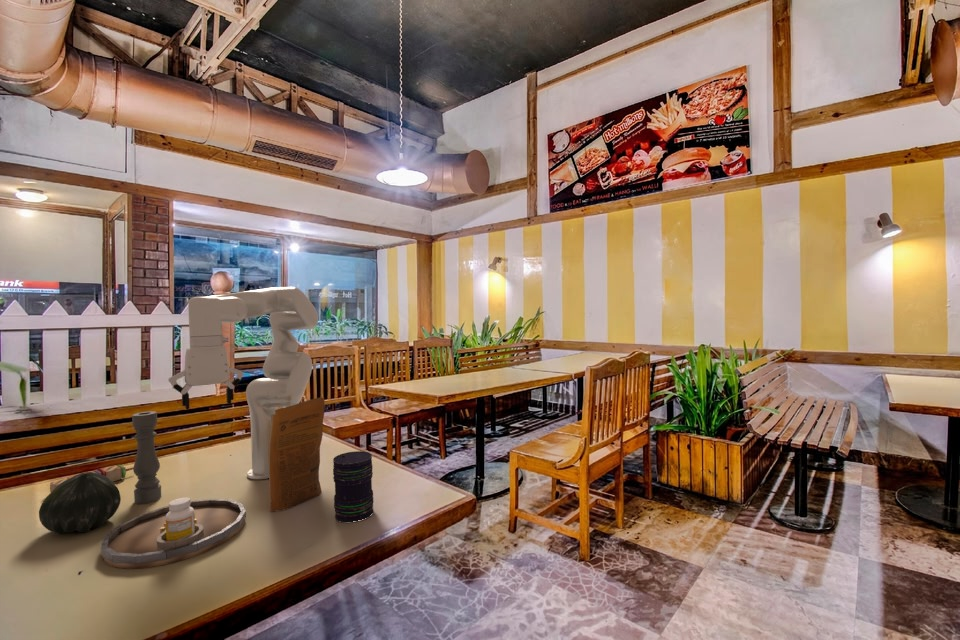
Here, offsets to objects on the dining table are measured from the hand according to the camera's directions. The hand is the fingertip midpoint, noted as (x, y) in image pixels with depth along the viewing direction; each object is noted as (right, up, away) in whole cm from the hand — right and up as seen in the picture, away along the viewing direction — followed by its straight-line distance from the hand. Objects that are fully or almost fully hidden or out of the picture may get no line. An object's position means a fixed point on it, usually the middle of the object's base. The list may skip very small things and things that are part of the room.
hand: (208, 405), depth 119 cm
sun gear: (+1, -27, -13) cm, 30 cm away
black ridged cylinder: (+41, -28, -4) cm, 49 cm away
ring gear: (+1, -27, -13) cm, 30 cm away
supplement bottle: (+6, -28, -20) cm, 34 cm away
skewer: (-48, -30, +20) cm, 60 cm away
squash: (-27, -29, -8) cm, 41 cm away
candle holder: (-23, -29, +8) cm, 38 cm away
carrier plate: (+1, -29, -13) cm, 31 cm away
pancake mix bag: (+23, -28, +5) cm, 36 cm away
